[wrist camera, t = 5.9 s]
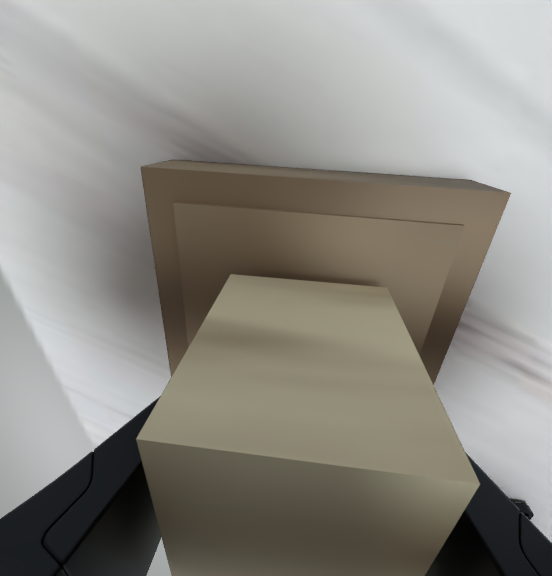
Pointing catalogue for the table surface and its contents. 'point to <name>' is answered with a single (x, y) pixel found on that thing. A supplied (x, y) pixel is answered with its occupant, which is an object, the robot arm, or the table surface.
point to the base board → (318, 240)
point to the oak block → (303, 439)
